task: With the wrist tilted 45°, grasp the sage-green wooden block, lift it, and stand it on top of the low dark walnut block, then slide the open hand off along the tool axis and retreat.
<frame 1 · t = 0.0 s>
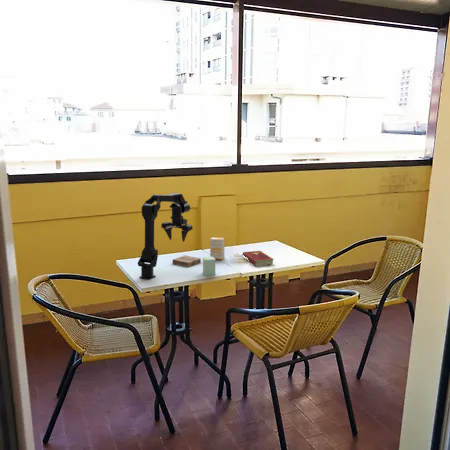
hand: (177, 240, 270), 15 cm above the table, tool pointing down, fingers open, 9 cm apart
sage block: (209, 273, 256), on the table
walnut block: (186, 263, 276), on the table
supplement box: (217, 258, 287), on the table
hardcover book: (257, 262, 282), on the table
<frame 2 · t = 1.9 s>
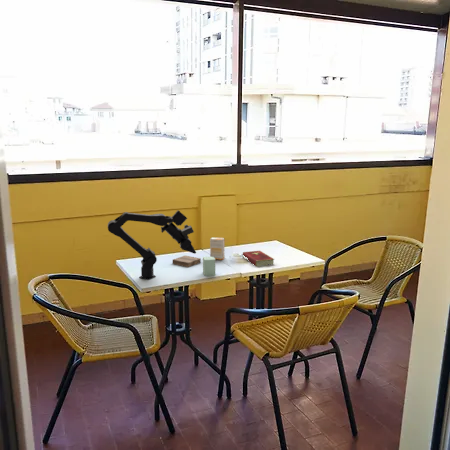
hand: (194, 250, 252), 13 cm above the table, tool tilted 45°, fingers open, 9 cm apart
nothing on the table moved.
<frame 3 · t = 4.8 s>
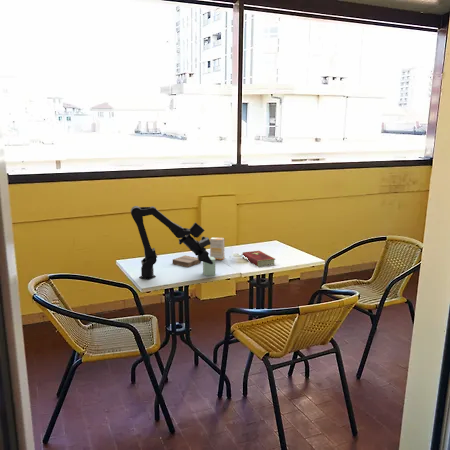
hand: (211, 262, 255), 7 cm above the table, tool tilted 45°, fingers closed on sage block, 6 cm apart
sage block: (209, 273, 256), on the table, touching gripper
everything else where it was.
when the fingers open (11 cm above the table, at t = 10.8 s): sage block drops 2 cm, point 3 cm above the table.
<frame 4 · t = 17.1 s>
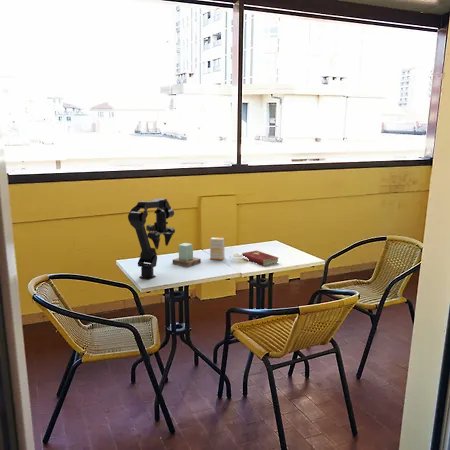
hand: (161, 247, 261), 13 cm above the table, tool pointing down, fingers open, 9 cm apart
sage block: (186, 258, 276), point 3 cm above the table
hardcover book: (259, 261, 283), on the table
everything else where it was.
at the end: sage block inside the target area on the walnut block (0.4 cm from its centre), point 3.1 cm above the walnut block's base; sage block tilted 1°; the gripper is holding nothing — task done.
